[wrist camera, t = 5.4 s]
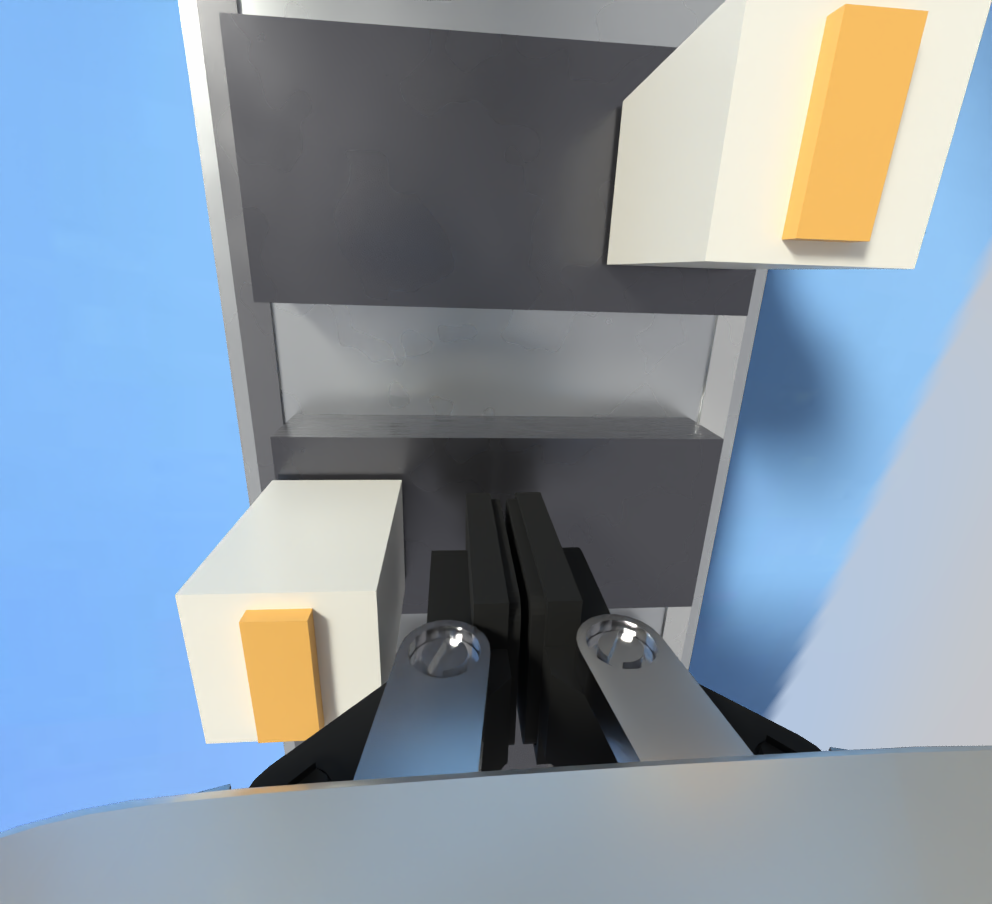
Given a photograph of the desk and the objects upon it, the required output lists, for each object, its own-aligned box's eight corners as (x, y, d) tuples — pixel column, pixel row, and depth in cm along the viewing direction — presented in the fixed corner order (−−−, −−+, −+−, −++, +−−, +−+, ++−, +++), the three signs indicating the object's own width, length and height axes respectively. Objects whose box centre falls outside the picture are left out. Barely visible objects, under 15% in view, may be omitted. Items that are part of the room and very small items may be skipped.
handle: (622, 100, 10) (765, -39, 5) (768, 111, 10) (1018, -15, 6) (606, 264, 11) (716, 260, 6) (739, 269, 11) (934, 269, 7)
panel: (208, -44, 12) (98, -187, 8) (775, 5, 13) (904, -100, 9) (308, 771, 21) (277, 883, 17) (644, 753, 22) (684, 853, 18)
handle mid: (272, 480, 12) (165, 607, 7) (401, 479, 12) (373, 601, 8) (285, 589, 13) (198, 759, 8) (405, 586, 13) (381, 750, 9)
